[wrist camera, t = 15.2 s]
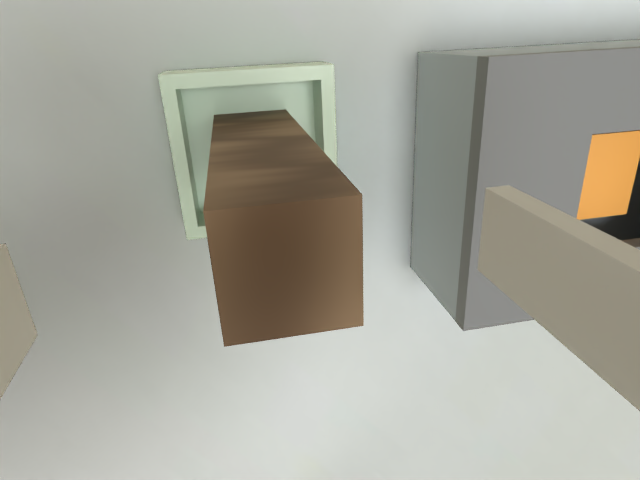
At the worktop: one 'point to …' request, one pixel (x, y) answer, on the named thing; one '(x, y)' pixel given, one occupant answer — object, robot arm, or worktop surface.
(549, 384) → the worktop surface
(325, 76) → the green square tray
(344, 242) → the brown wooden block
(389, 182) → the worktop surface
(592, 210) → the button
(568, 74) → the grey box with hole
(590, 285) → the robot arm
